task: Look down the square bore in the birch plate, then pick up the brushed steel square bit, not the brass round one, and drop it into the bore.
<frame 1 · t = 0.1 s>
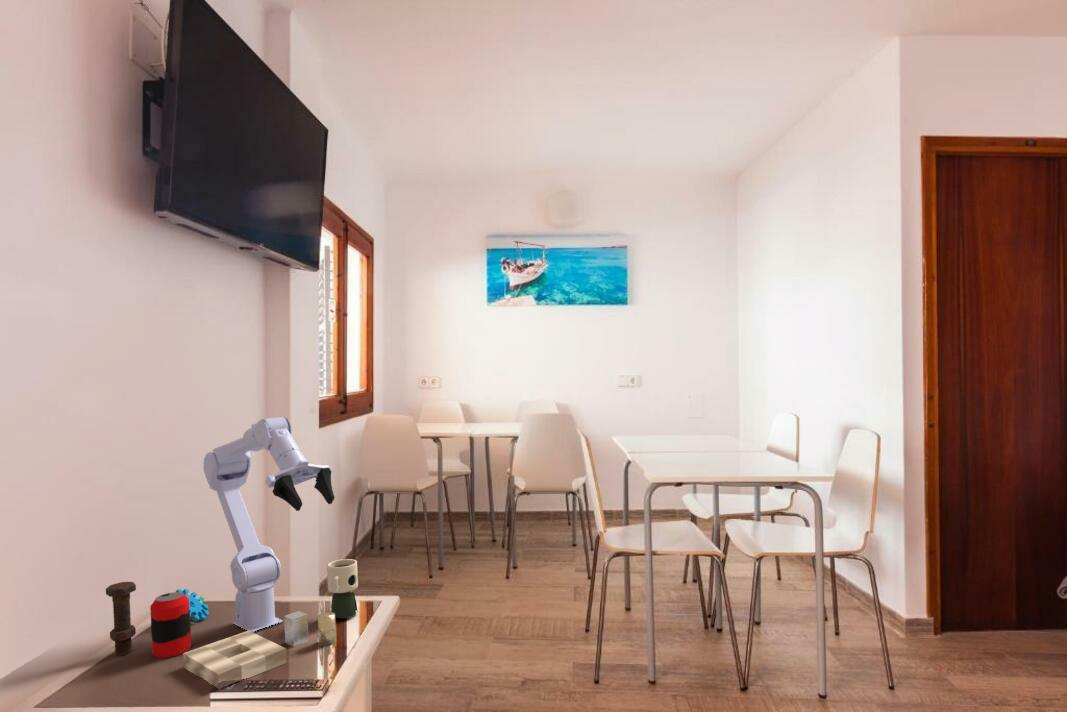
hand: (316, 504, 145), 32 cm above the table, tool tilted 50°, fingers open, 7 cm apart
soda can: (172, 651, 150), on the table
square bit: (296, 642, 152), on the table
round bit: (327, 642, 151), on the table
socket plate: (235, 665, 141), on the table
gear: (192, 620, 169), on the table
character mug: (344, 617, 166), on the table
bolt: (123, 654, 150), on the table
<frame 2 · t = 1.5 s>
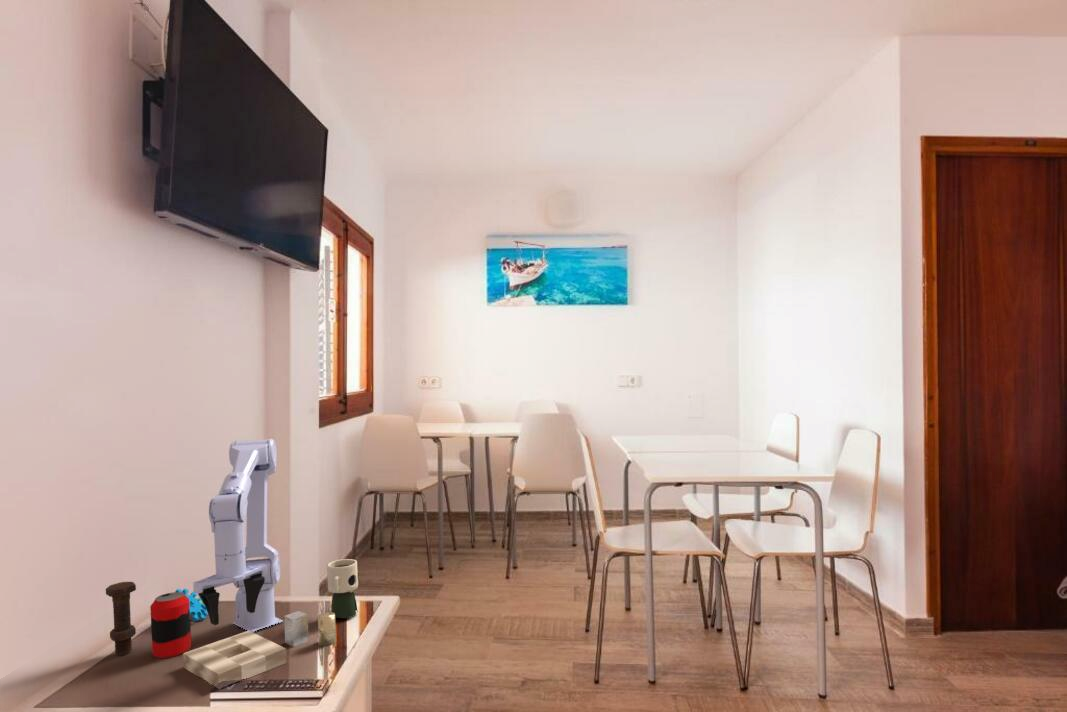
hand: (233, 617, 141), 10 cm above the table, tool pointing down, fingers open, 7 cm apart
nothing on the table moved.
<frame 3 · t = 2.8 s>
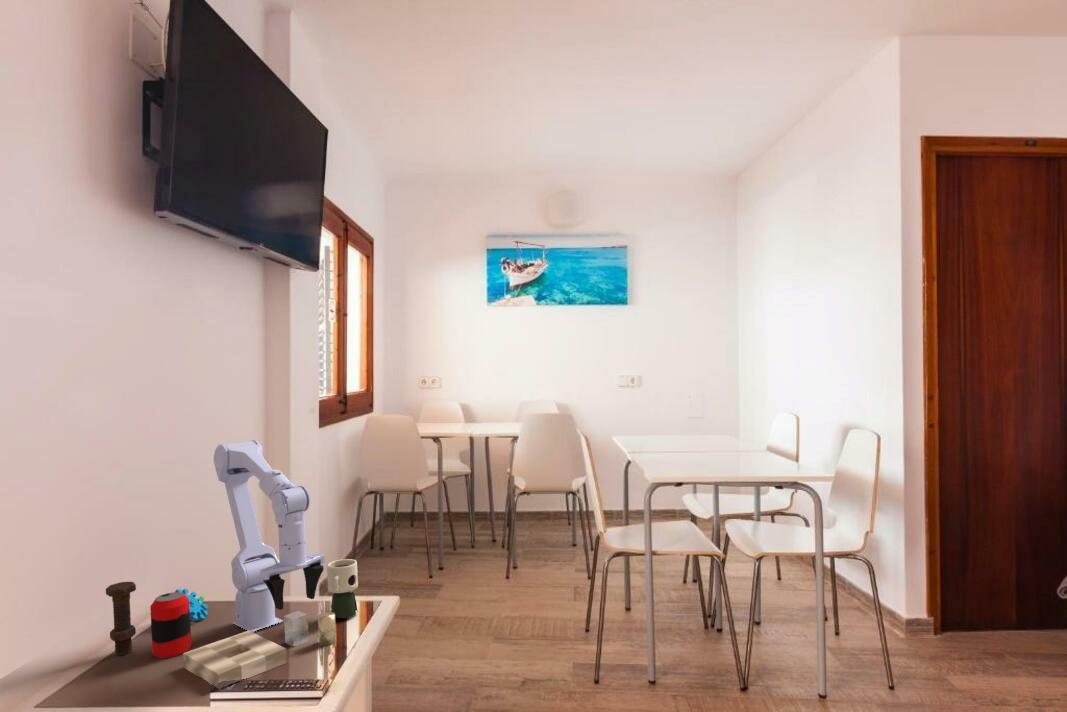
hand: (295, 603, 152), 9 cm above the table, tool pointing down, fingers open, 7 cm apart
nothing on the table moved.
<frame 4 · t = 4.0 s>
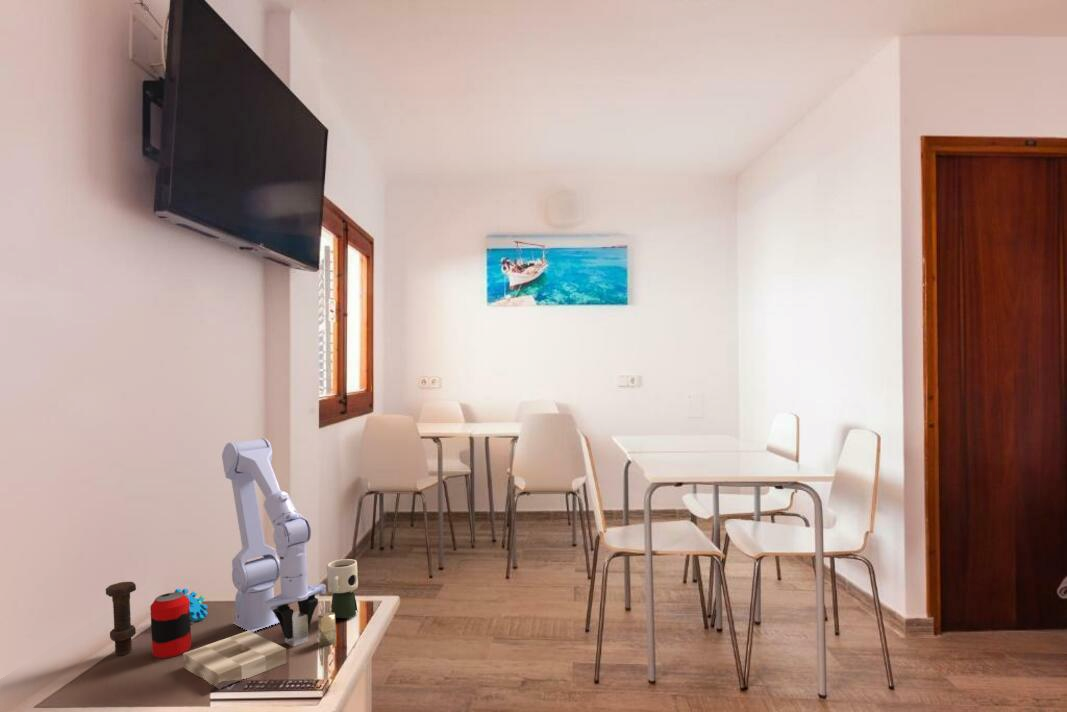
hand: (296, 634, 152), 2 cm above the table, tool pointing down, fingers closed on square bit, 4 cm apart
square bit: (296, 641, 152), on the table, touching gripper
everything else where it was.
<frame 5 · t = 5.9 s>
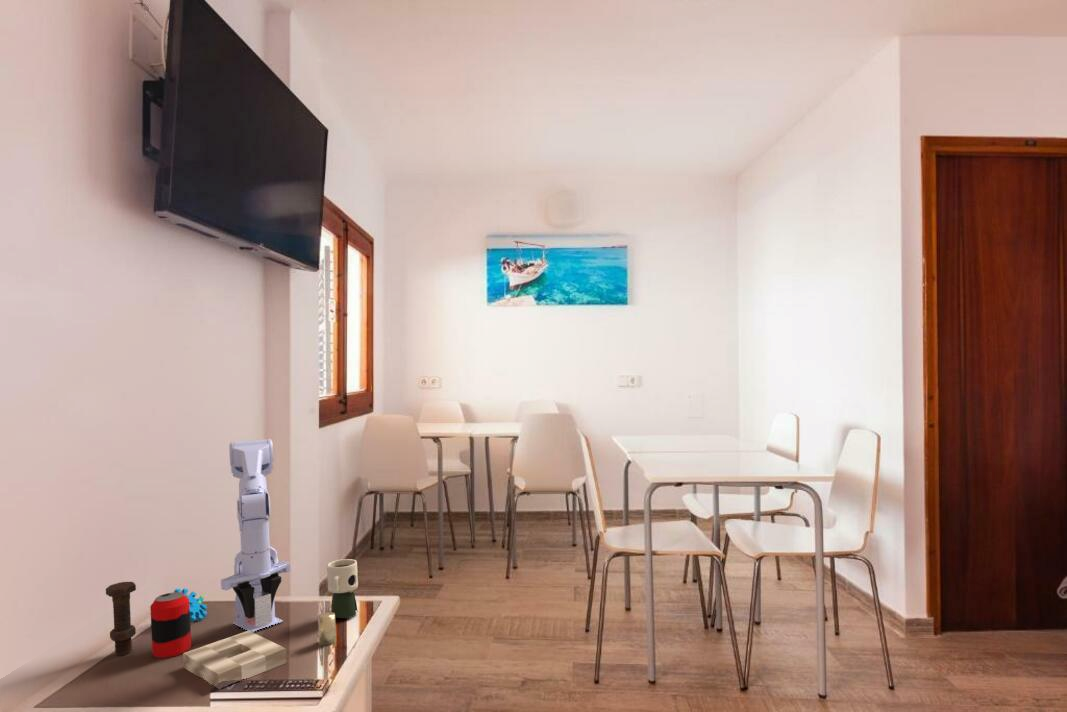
hand: (258, 613, 145), 9 cm above the table, tool pointing down, fingers closed on square bit, 4 cm apart
square bit: (259, 622, 145), point 7 cm above the table, touching gripper
everything else where it was.
when the fingers open (3 cm above the table, at t = 8.0 s): square bit drops 2 cm, resting in socket plate.
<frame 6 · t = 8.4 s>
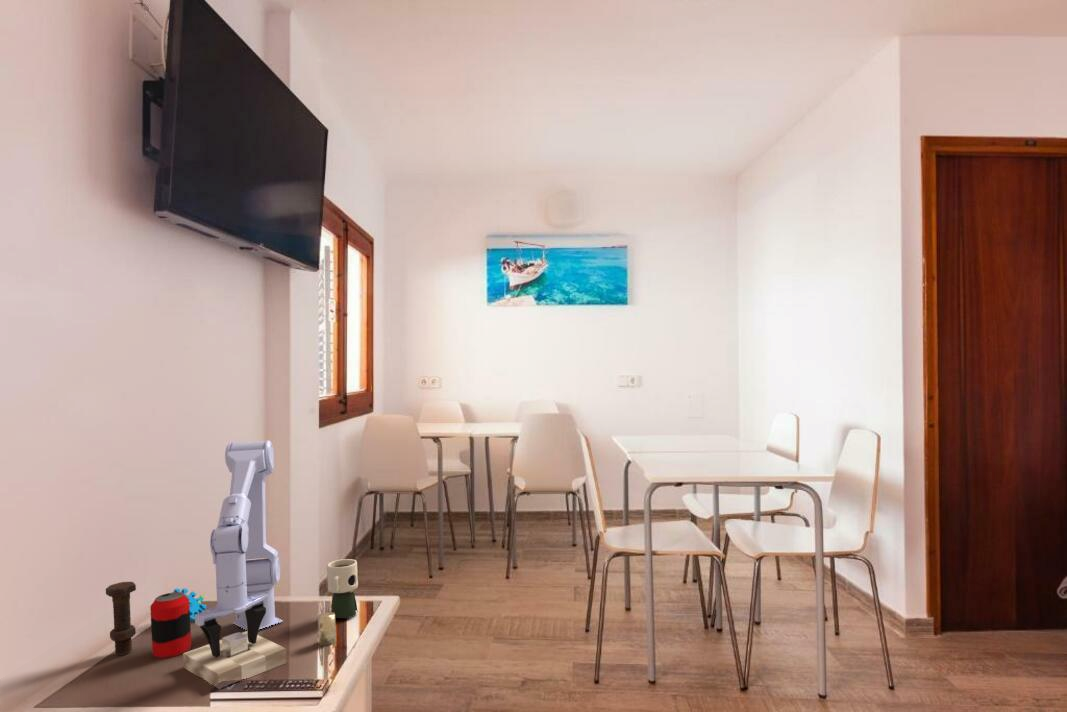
hand: (234, 648, 141), 3 cm above the table, tool pointing down, fingers open, 7 cm apart
square bit: (235, 665, 141), resting in socket plate
everything else where it was.
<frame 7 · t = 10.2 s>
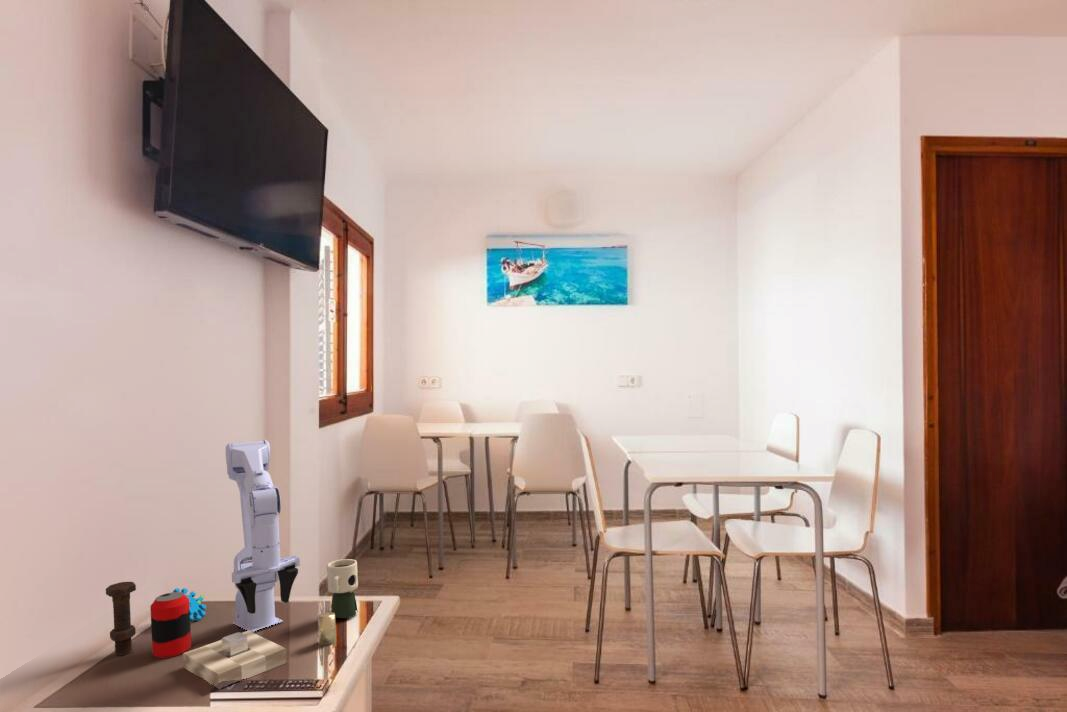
hand: (268, 606, 148), 9 cm above the table, tool pointing down, fingers open, 7 cm apart
nothing on the table moved.
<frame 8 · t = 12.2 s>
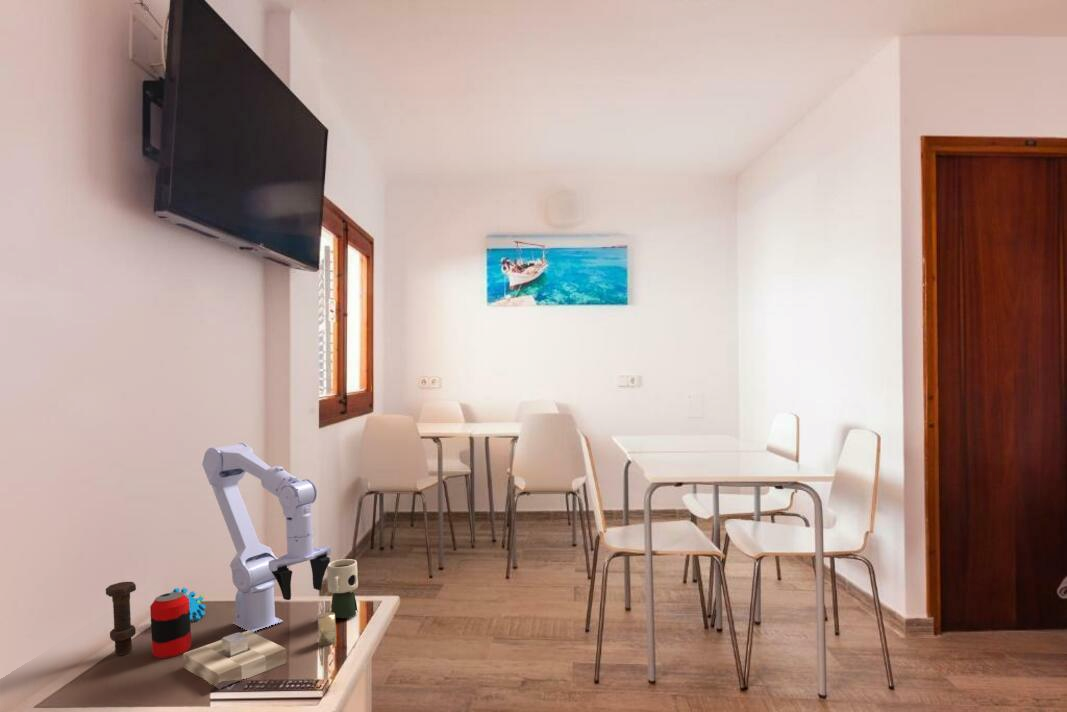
hand: (302, 593, 156), 9 cm above the table, tool pointing down, fingers open, 7 cm apart
at the end: square bit 0.2 cm off-centre on the socket plate, point 0.0 cm above the socket plate's base; square bit tilted 0°; round bit moved 0.0 cm from its start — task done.
